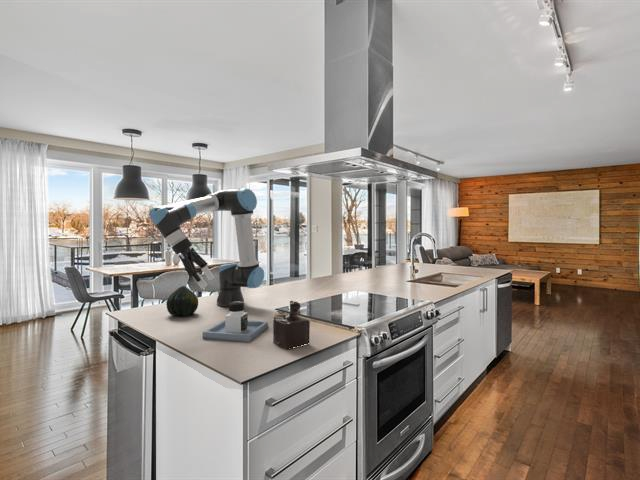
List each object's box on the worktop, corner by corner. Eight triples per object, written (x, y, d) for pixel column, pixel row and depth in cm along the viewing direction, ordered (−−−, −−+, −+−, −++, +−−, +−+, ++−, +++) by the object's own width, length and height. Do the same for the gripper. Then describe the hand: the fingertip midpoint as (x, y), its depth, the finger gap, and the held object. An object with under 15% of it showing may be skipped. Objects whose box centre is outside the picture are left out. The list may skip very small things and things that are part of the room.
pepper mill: (270, 343, 139) (270, 296, 139) (295, 337, 146) (294, 293, 145) (293, 354, 127) (293, 303, 126) (318, 348, 134) (318, 299, 133)
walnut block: (275, 324, 165) (275, 313, 165) (288, 324, 165) (288, 313, 165) (273, 328, 159) (273, 317, 159) (287, 328, 159) (287, 317, 159)
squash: (176, 309, 170) (192, 283, 179) (155, 307, 178) (171, 281, 186) (194, 324, 180) (209, 298, 188) (174, 321, 187) (189, 296, 195)
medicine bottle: (241, 333, 149) (241, 304, 148) (225, 332, 150) (224, 303, 149) (247, 328, 156) (247, 300, 155) (232, 327, 157) (231, 300, 156)
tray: (226, 324, 164) (226, 319, 164) (268, 327, 160) (268, 321, 160) (202, 338, 145) (202, 332, 145) (249, 342, 141) (249, 335, 140)
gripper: (180, 242, 165) (208, 280, 168) (160, 251, 141) (193, 296, 144) (194, 233, 165) (221, 271, 168) (176, 241, 140) (209, 285, 144)
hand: (208, 283), depth 156 cm, fingers open, 13 cm apart
